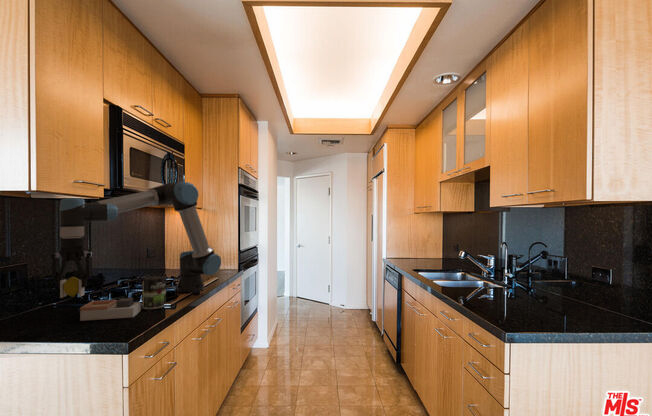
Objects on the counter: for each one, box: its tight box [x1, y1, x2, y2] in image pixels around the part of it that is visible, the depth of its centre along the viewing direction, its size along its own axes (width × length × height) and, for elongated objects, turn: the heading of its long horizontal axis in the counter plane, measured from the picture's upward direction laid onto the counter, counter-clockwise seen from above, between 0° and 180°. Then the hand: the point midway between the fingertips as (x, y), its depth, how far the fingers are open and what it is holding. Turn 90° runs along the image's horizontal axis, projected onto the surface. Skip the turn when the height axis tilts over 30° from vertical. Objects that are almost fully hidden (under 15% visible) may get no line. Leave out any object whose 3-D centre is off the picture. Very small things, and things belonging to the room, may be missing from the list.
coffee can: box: [141, 274, 167, 310], centre depth 154 cm, size 10×10×14 cm
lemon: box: [64, 276, 80, 298], centre depth 125 cm, size 6×6×8 cm
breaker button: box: [116, 297, 134, 308], centre depth 141 cm, size 5×5×6 cm
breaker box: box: [79, 299, 142, 322], centre depth 140 cm, size 20×10×6 cm, turn 103°
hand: (72, 296), depth 125 cm, fingers closed on lemon, 5 cm apart
